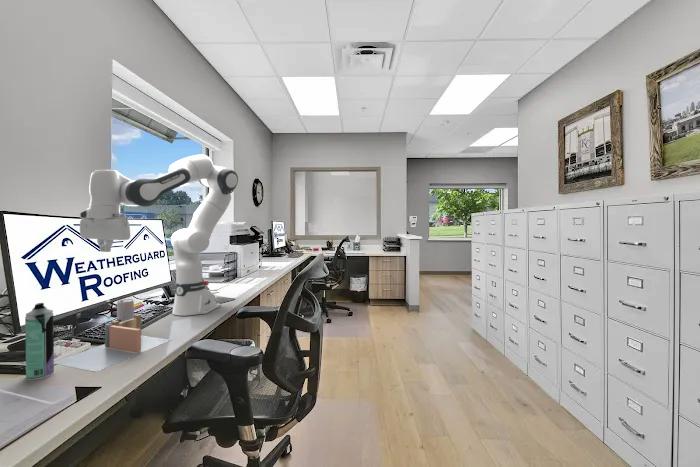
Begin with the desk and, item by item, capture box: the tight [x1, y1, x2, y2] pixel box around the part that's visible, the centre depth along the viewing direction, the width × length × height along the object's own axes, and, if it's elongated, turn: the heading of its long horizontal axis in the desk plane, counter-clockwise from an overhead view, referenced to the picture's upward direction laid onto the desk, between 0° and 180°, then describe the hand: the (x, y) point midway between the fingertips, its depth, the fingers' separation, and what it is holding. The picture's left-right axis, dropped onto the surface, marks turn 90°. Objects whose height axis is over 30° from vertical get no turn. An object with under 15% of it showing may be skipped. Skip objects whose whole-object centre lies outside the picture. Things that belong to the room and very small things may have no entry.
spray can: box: [24, 302, 55, 381], centre depth 87 cm, size 6×6×20 cm
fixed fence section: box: [110, 313, 142, 330], centre depth 113 cm, size 10×2×8 cm, turn 163°
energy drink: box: [116, 298, 135, 323], centre depth 123 cm, size 5×5×12 cm
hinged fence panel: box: [104, 323, 142, 352], centre depth 106 cm, size 14×2×7 cm, turn 74°
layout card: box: [54, 334, 172, 373], centre depth 105 cm, size 26×18×1 cm
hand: (105, 251), depth 117 cm, fingers closed
